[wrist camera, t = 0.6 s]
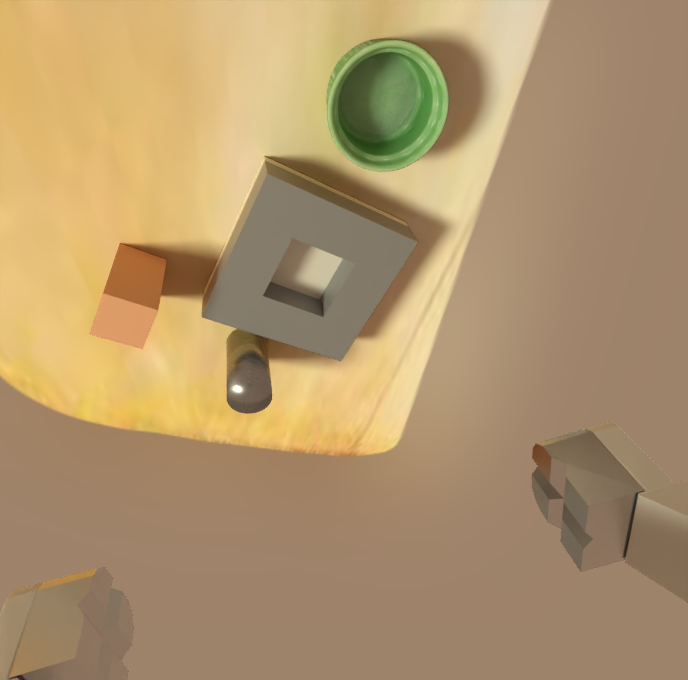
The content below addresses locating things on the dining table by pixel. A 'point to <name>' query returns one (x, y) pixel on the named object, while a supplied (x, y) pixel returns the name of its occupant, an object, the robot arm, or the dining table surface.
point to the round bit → (248, 372)
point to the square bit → (130, 297)
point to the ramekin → (386, 104)
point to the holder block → (305, 263)
